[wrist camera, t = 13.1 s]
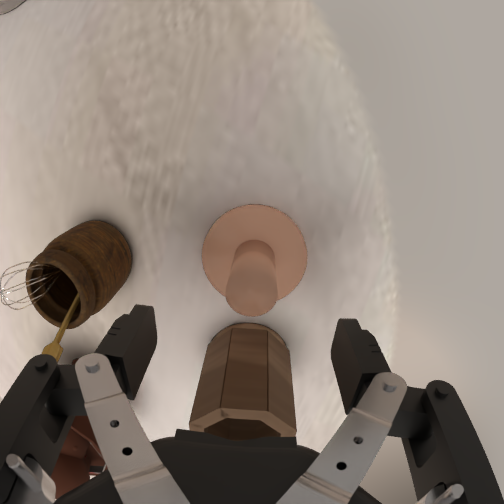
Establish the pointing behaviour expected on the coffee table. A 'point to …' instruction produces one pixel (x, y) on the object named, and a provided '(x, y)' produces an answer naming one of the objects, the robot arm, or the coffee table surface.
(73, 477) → the ice cream bowl
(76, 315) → the utensil holder
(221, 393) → the canister
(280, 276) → the lid
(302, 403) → the coffee table surface
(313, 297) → the coffee table surface
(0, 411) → the robot arm
